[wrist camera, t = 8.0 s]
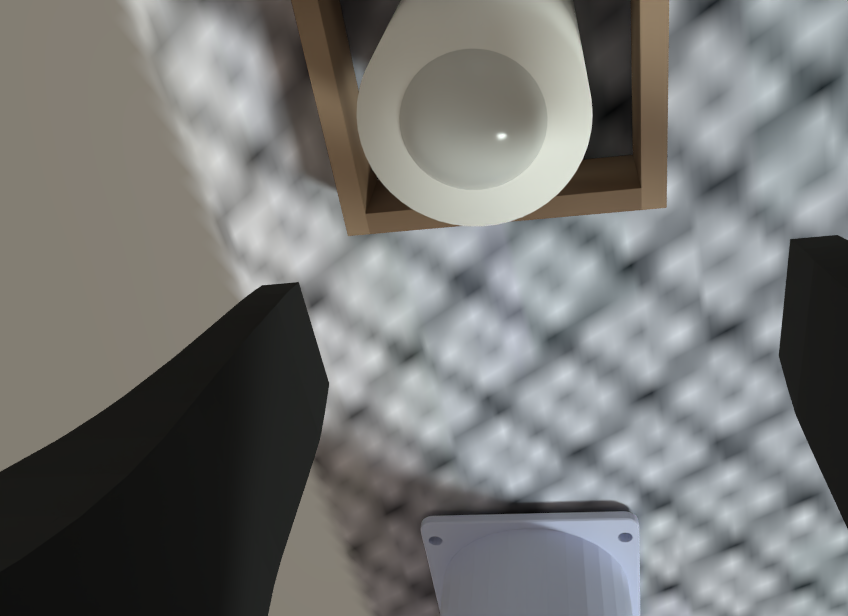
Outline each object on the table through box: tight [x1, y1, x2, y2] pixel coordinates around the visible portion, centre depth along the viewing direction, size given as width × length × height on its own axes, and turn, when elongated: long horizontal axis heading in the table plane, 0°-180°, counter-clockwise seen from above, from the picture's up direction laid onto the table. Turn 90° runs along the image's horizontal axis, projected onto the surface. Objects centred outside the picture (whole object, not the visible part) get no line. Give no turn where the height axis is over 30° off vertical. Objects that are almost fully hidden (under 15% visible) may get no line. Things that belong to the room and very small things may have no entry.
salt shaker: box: [357, 0, 593, 226], centre depth 17 cm, size 4×4×7 cm
